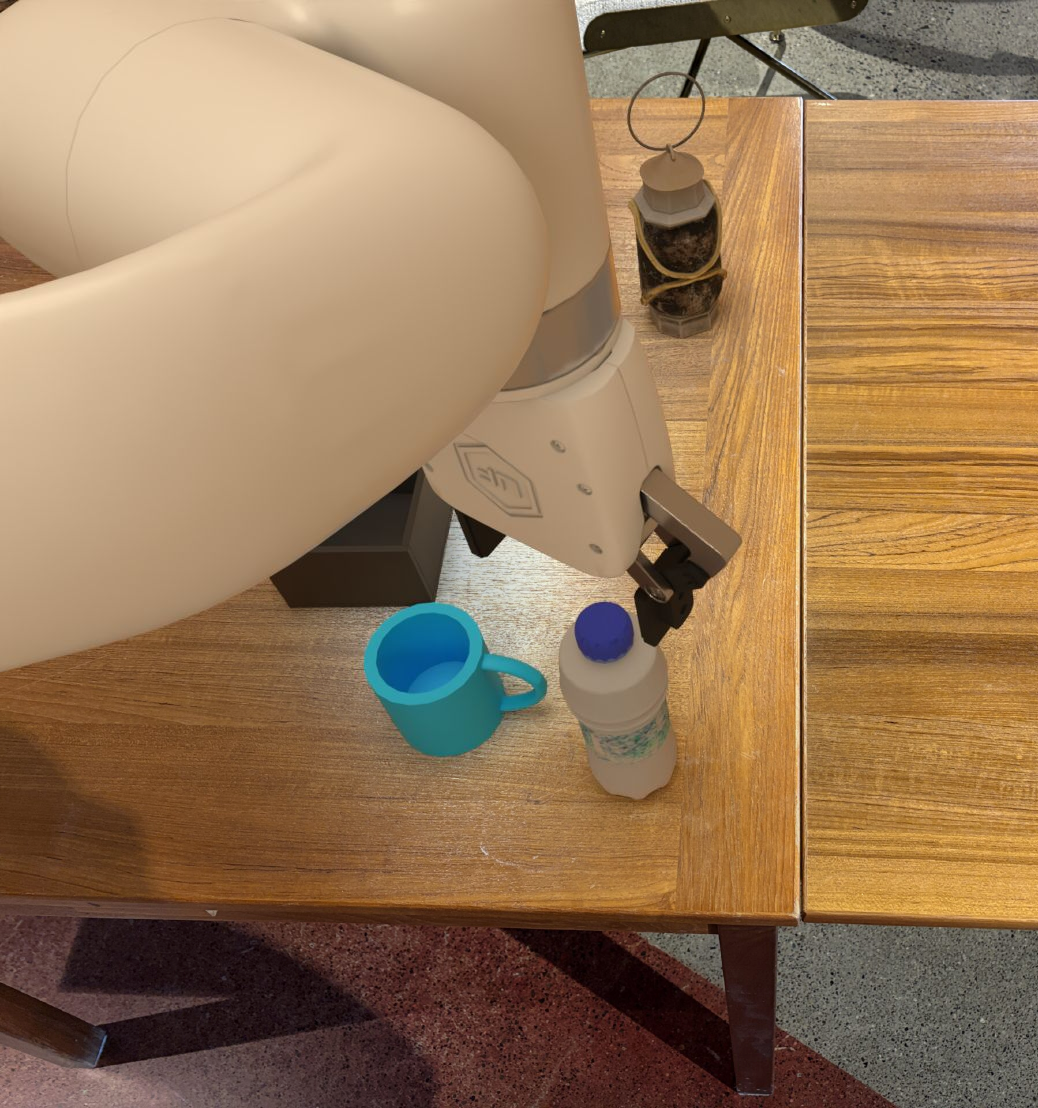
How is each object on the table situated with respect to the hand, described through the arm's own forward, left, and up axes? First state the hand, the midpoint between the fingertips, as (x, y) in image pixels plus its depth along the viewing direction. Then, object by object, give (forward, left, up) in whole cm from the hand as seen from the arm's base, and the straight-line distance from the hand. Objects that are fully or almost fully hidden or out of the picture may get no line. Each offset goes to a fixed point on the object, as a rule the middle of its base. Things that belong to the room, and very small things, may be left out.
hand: (580, 577), depth 50 cm
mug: (+1, +16, -31) cm, 34 cm away
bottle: (+3, +3, -31) cm, 31 cm away
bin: (+9, +32, -30) cm, 45 cm away
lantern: (+45, +25, -31) cm, 60 cm away
